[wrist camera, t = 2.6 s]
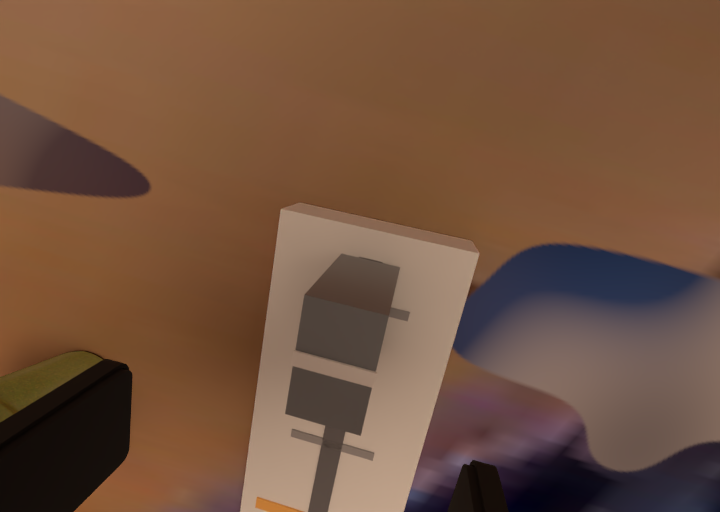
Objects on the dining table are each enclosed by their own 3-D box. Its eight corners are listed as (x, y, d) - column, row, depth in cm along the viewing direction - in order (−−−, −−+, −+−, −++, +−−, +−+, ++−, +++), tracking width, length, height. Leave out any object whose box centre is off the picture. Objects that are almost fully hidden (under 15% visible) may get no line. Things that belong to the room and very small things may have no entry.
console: (471, 240, 21) (479, 254, 18) (376, 574, 28) (370, 623, 25) (299, 202, 22) (280, 209, 19) (251, 532, 29) (231, 575, 26)
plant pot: (24, 399, 29) (-133, 493, 21) (50, 304, 27) (-119, 369, 18) (125, 459, 29) (6, 578, 21) (162, 370, 26) (42, 465, 18)
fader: (401, 267, 18) (390, 317, 12) (380, 355, 20) (361, 438, 14) (340, 253, 19) (301, 295, 13) (324, 341, 20) (282, 415, 14)
